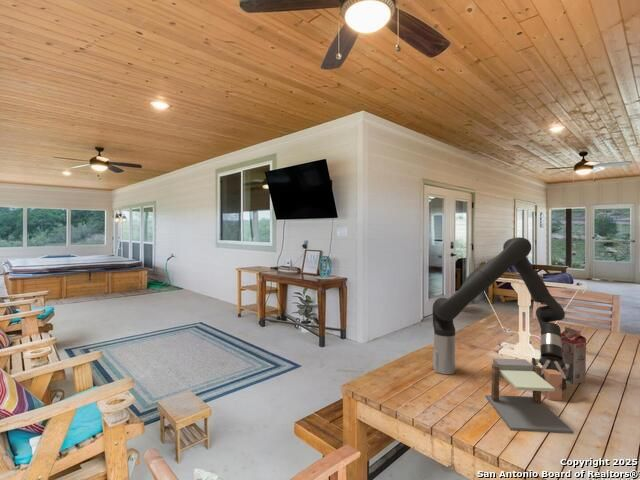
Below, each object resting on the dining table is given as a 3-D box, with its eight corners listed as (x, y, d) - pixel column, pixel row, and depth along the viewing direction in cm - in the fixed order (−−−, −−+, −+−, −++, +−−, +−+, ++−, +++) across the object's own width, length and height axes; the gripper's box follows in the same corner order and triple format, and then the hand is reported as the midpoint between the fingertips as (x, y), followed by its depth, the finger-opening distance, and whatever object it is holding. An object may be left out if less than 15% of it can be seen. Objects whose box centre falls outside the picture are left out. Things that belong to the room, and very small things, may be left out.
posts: (493, 403, 128) (494, 366, 128) (491, 400, 131) (491, 364, 130) (541, 405, 127) (541, 368, 126) (537, 402, 129) (538, 365, 129)
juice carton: (573, 383, 144) (574, 332, 143) (558, 377, 150) (559, 327, 150) (585, 381, 146) (586, 330, 145) (570, 375, 152) (571, 326, 151)
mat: (510, 429, 112) (510, 427, 112) (485, 396, 134) (485, 394, 134) (573, 433, 110) (573, 430, 110) (537, 399, 132) (537, 396, 132)
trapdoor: (492, 371, 135) (493, 358, 135) (525, 372, 134) (525, 359, 134) (516, 395, 115) (516, 381, 115) (554, 397, 114) (554, 382, 114)
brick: (549, 399, 131) (549, 374, 131) (542, 394, 136) (543, 369, 135) (561, 400, 131) (562, 374, 130) (555, 394, 135) (555, 369, 135)
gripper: (530, 340, 142) (530, 379, 133) (573, 346, 135) (577, 387, 125) (530, 348, 147) (530, 387, 137) (572, 355, 140) (575, 396, 130)
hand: (552, 387), depth 131 cm, fingers closed on brick, 6 cm apart
